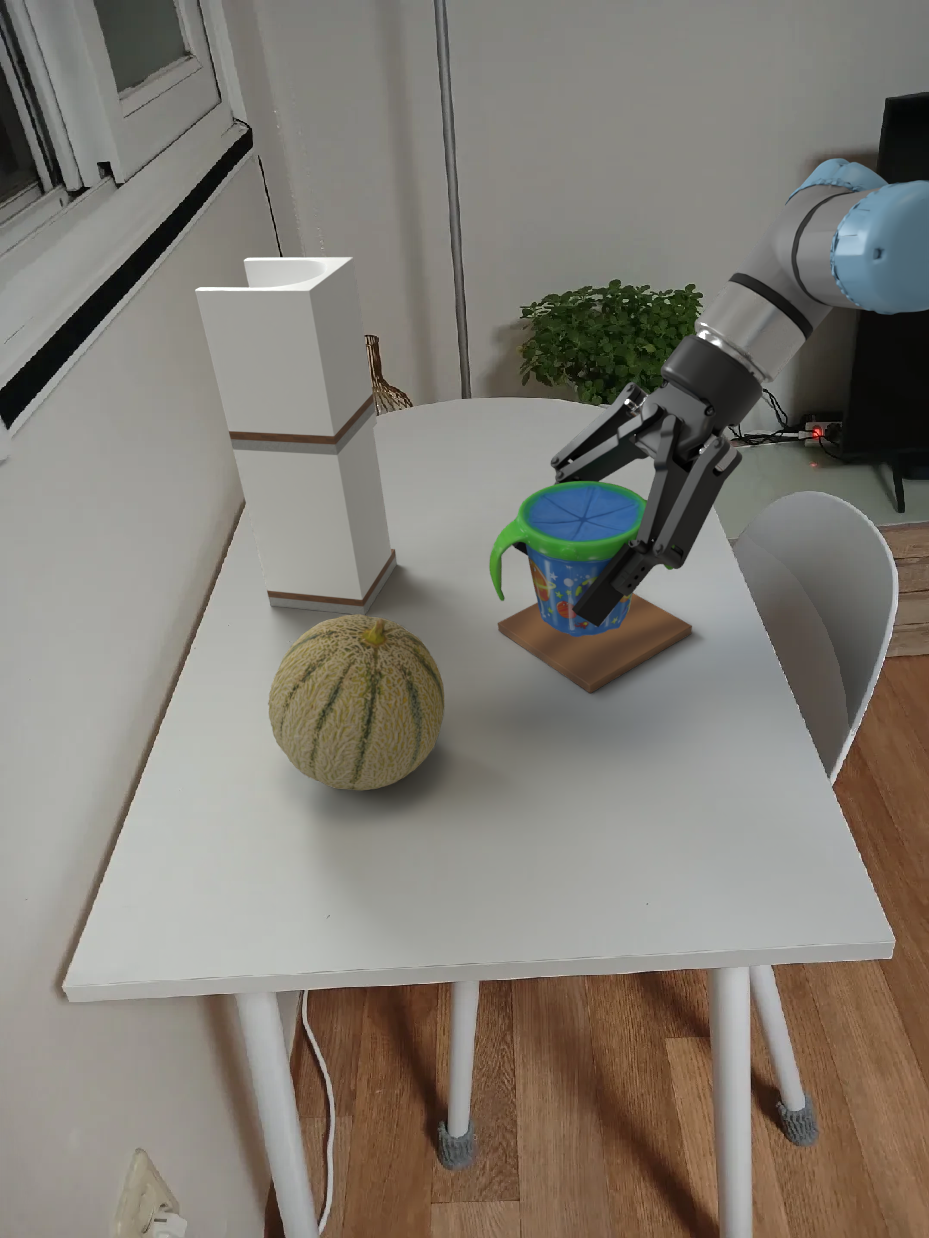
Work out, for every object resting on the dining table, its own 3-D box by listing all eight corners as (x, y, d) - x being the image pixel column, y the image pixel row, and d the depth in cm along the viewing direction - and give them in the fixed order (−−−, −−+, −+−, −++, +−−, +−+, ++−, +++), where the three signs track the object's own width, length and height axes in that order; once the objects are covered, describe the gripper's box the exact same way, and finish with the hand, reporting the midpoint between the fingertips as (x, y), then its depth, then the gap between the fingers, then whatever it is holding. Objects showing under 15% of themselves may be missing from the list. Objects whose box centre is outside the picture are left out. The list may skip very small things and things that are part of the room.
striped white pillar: (397, 564, 112) (353, 257, 92) (364, 615, 104) (309, 290, 84) (308, 556, 115) (247, 258, 95) (270, 605, 107) (194, 290, 87)
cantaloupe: (261, 753, 87) (224, 619, 78) (401, 690, 93) (381, 559, 84) (331, 855, 76) (297, 713, 68) (484, 776, 82) (471, 637, 74)
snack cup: (657, 570, 86) (661, 468, 80) (692, 638, 77) (699, 530, 72) (486, 592, 85) (478, 491, 80) (502, 663, 77) (494, 556, 71)
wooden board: (691, 633, 96) (692, 625, 96) (590, 693, 90) (590, 685, 90) (595, 579, 106) (595, 571, 105) (497, 630, 100) (497, 622, 99)
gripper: (854, 437, 67) (654, 677, 72) (674, 343, 85) (523, 540, 89) (801, 381, 62) (591, 641, 67) (623, 294, 80) (467, 504, 85)
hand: (552, 583), depth 78 cm, fingers closed on snack cup, 10 cm apart
